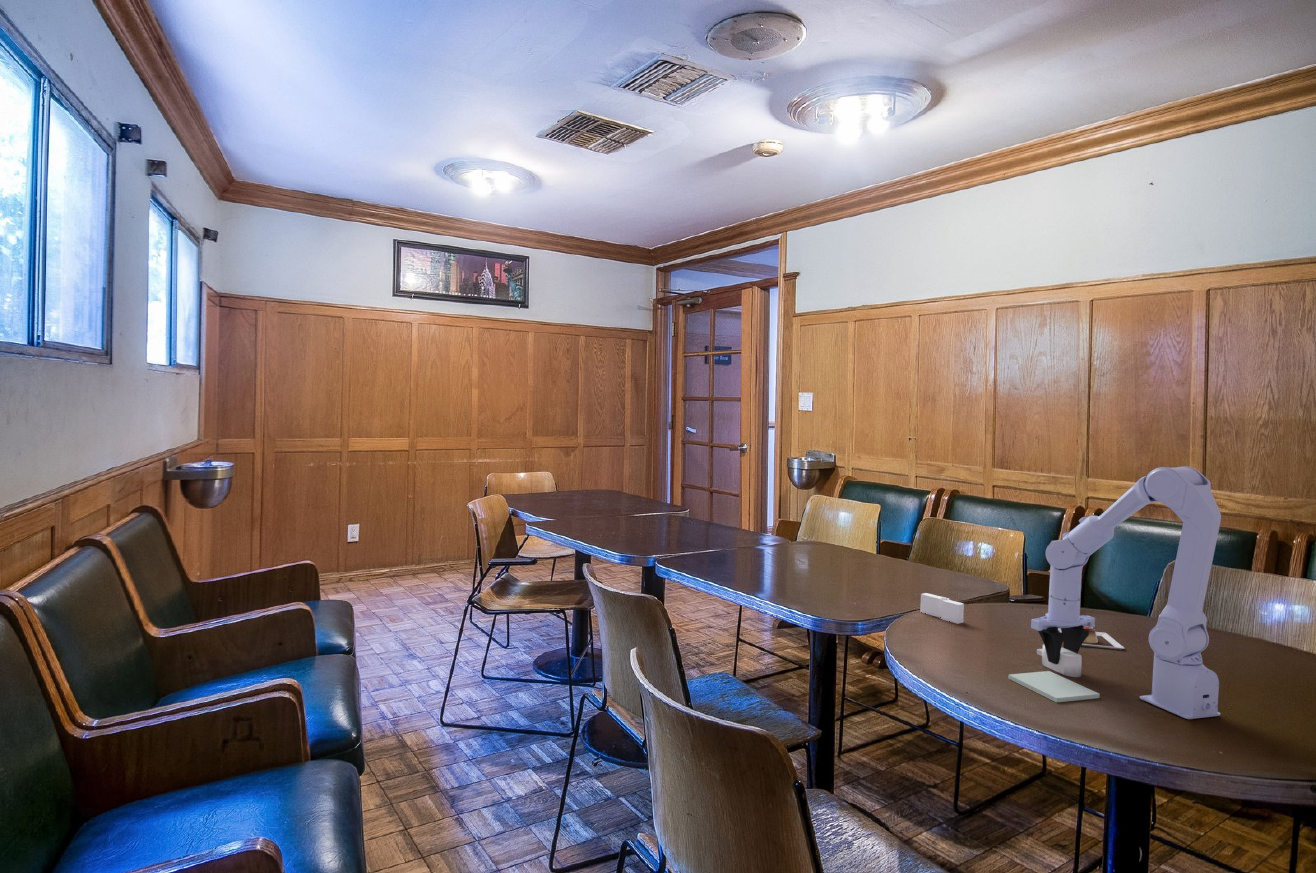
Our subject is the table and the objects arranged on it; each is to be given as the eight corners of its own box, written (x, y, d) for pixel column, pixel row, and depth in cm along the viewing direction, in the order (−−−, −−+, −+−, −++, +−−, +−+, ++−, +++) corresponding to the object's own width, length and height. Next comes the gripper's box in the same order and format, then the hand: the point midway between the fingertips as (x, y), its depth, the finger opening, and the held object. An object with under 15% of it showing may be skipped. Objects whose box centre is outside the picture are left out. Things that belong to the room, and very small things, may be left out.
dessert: (1066, 647, 167) (1068, 627, 167) (1051, 632, 178) (1052, 613, 178) (1125, 653, 164) (1126, 632, 164) (1105, 637, 176) (1106, 617, 175)
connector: (1085, 676, 147) (1086, 657, 146) (1070, 677, 146) (1071, 658, 146) (1046, 659, 156) (1047, 641, 156) (1032, 660, 155) (1033, 642, 155)
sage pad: (1099, 697, 135) (1099, 693, 135) (1056, 702, 133) (1056, 698, 133) (1049, 674, 147) (1049, 670, 147) (1008, 678, 144) (1008, 674, 144)
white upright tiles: (909, 610, 194) (910, 589, 194) (952, 612, 194) (953, 591, 194) (929, 627, 179) (930, 605, 179) (975, 629, 179) (976, 606, 179)
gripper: (1076, 591, 156) (1073, 653, 156) (1021, 593, 152) (1018, 657, 152) (1105, 599, 149) (1101, 664, 149) (1047, 602, 145) (1044, 669, 145)
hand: (1061, 661), depth 150 cm, fingers closed on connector, 4 cm apart
